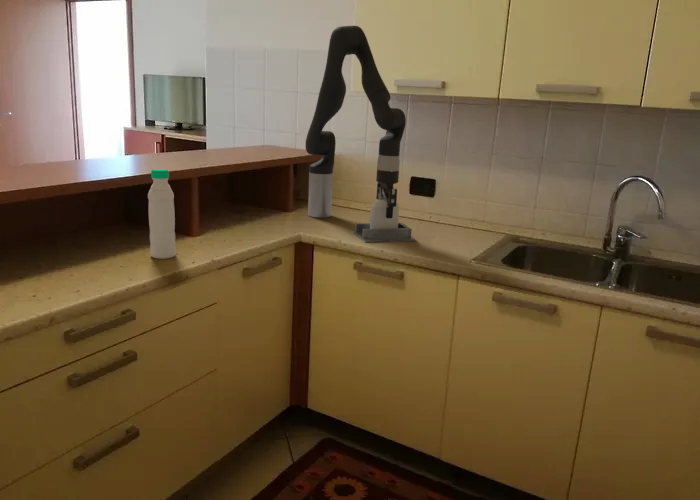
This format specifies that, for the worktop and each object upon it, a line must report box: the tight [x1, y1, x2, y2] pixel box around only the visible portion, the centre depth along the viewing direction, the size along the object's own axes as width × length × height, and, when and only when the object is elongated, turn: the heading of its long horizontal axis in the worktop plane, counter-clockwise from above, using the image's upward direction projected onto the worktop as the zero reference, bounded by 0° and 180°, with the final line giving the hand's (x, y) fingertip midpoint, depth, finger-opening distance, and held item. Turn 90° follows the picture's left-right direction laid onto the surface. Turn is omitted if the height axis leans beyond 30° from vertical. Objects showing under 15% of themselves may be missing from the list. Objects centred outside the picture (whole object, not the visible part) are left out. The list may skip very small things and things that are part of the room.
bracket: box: [353, 222, 416, 243], centre depth 203 cm, size 14×18×4 cm
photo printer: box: [369, 199, 400, 229], centre depth 202 cm, size 10×4×12 cm, turn 112°
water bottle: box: [147, 168, 177, 260], centre depth 165 cm, size 7×7×25 cm
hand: (385, 215), depth 202 cm, fingers open, 8 cm apart
